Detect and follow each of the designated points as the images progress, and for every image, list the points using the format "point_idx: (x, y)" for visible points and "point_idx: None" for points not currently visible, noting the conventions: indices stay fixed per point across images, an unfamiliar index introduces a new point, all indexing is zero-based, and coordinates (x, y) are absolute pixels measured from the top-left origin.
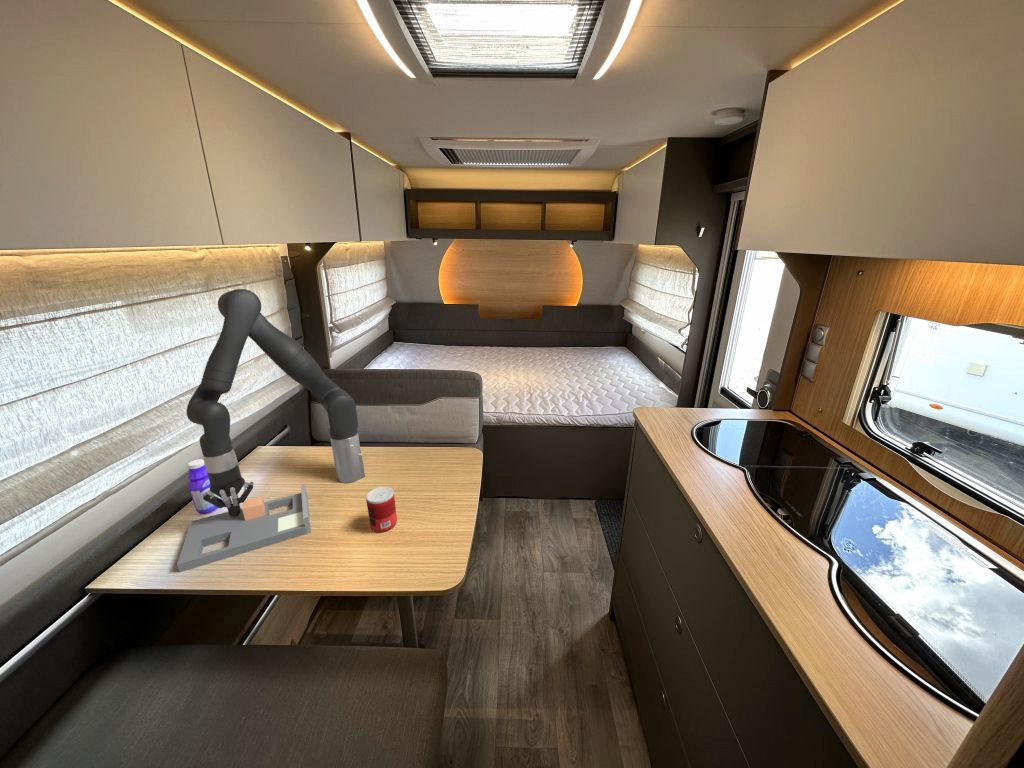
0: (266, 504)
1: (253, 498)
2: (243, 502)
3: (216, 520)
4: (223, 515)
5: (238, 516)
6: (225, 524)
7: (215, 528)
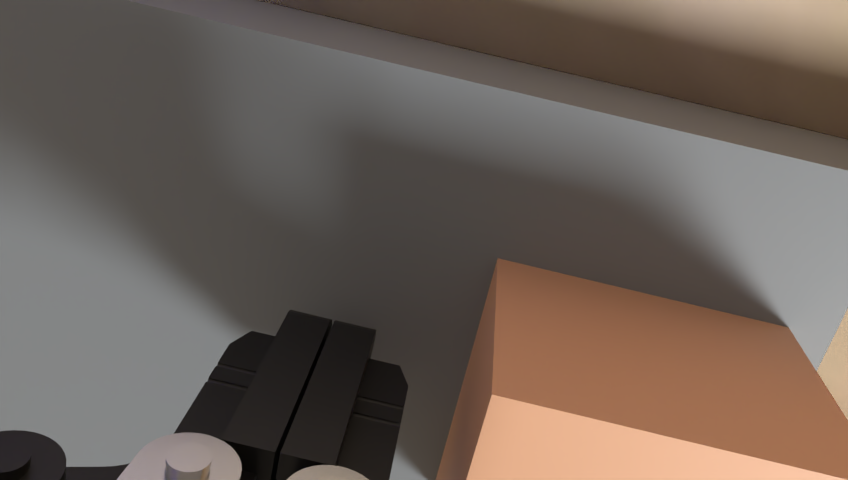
0: (837, 275)
1: (695, 456)
2: (474, 463)
3: (53, 186)
4: (149, 107)
5: (365, 314)
6: (184, 391)
7: (61, 395)
